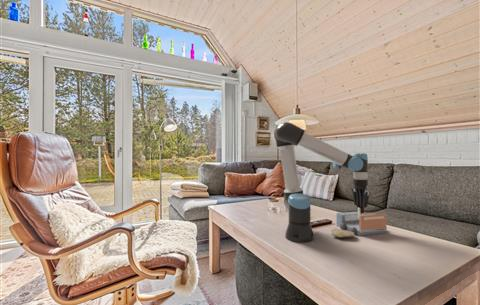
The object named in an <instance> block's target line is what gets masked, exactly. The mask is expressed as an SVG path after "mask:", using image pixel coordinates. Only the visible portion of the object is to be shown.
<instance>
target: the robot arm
mask: <svg viewBox="0 0 480 305" xmlns="http://www.w3.org/2000/svg"><path fill="white" fill-rule="evenodd" d="M273 135H274V136H273V137H274V140H275V143H276V149H278V151H279V153H280V154H279V155H280V161H281V167H282V168H281V169H282V174H283V181H284V186H285V187H284V190H283V204H284V206H285V208H286V209H287V211H288V224H287V227H286V231H285V239H286V240H287V241H290V242H292V243H297V244H298V243H300V244H302V243H303V244H304V243H312V242H313V241H314V240H315V235H314V230H313V228H312V225H311V224H312V223H311V204H312V202H311V197H310V196H309V195H307V194H305V193H304V190H303V188H302V187H301V186H300V180H299V172H298V169H297V168H298V166H297V159H296V154H295V147H297V146H300V147H302V148H304V149H306V150H309V151H310V152H312V153H314V154H317V155H318V156H321V157H323V158H325V159H327V160H329V161H331V163H332V168H333V169H334V170H347V171H350V172H351V171H352V172H353V173H352V175H353V185H354V188H351V190H350V191H351V194H352V197H353V199H352V200H353V203H354V206H356V212H358V218H359V215H363V213H365V208H367V207H368V205H369V204H368V203H369V198H370V196H371V191H368V188H367V186H368V183H369V182H368V177H369V176H368V171H369V170H368V168H369V167H368V163H369V161H368V160H369V159H368V154H367V153H365V152H364V153H362V152H360V153H357V152H354V153H353V155H351V154H349V153H347V152H346V151H344V150H341V149H340V148H337V147H335V146H333V145H331V144H329V143H327V142H325V141H324V140H321V139H320V138H317V137H315V136H313V135H311V134H310V133H307V132H306V130H305V129H303V128H302V127H299V126H297V125H296V124H294V123H292V122H281V123H280V124H279V125H278V126H277V127H276V128H275V130H274V133H273Z"/></svg>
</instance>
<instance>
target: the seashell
mask: <svg viewBox="0 0 480 305" xmlns="http://www.w3.org/2000/svg"><path fill="white" fill-rule="evenodd" d="M331 235H332V236H335V237H337V238H338V239H339V238H340V239H341V238H343V239H344V238H350V237H353V236H355V235H354V233H353V232H351V231H347V230H342V229H337V228H334V229H332V230H331Z"/></svg>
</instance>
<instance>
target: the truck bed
mask: <svg viewBox="0 0 480 305" xmlns="http://www.w3.org/2000/svg"><path fill="white" fill-rule="evenodd" d="M363 215H368V214H367V212H364V213H363ZM336 227H338V228H340V230H346V231H351V232H353V233H354V235H353V236H355V235H356V236H367V235H368V236H369V235H376V234H377V235H378V234H382V233H383V234H384V233H386V232H387V227H386V228H381V229H370V230H359V218H358V212H357V211H349V212H336Z"/></svg>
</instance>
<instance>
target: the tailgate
mask: <svg viewBox="0 0 480 305" xmlns="http://www.w3.org/2000/svg"><path fill="white" fill-rule="evenodd" d="M381 228H387V213H386V212H385V213H373V214H367V215H359V230H370V229H381Z"/></svg>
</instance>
